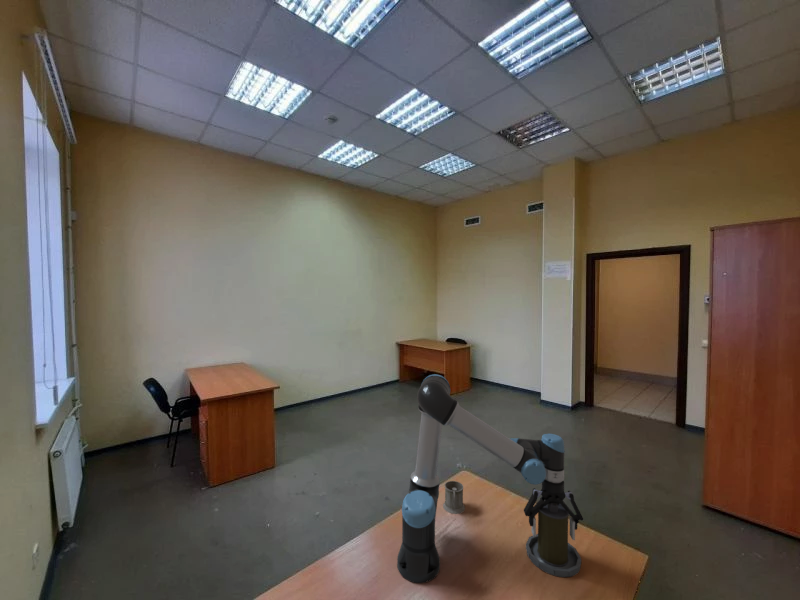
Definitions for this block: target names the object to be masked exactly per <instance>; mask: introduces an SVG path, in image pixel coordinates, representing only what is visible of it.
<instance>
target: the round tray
mask: <svg viewBox="0 0 800 600" xmlns="http://www.w3.org/2000/svg"><path fill="white" fill-rule="evenodd" d="M537 549H538V533H536V537H534V536H533V535H530V536H529V537H528V539H527V541H526V543H525V550H526V554H527V557H528V559H529V560H530V562H531V563H532V564H533V565H534V566H535V567H537V568H538V569H539V570H541V571H542V572H544V573H546V574H548V575H551V576H555V577H559V578H570V577H574V576H576V575H578V573H580V571H581V565H582V557H581V556H580V553H579V551H578V549H576V548H575V546H573V545H572V544H571V543H569V542H568V560H569V561H568V563H567V565H565V566H563V567H555V566H552V565H549V564H547V563H546V562H544V561H543V560H542V559H541V558H540V557H539V555H538V552H537Z"/></svg>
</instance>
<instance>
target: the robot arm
mask: <svg viewBox="0 0 800 600" xmlns="http://www.w3.org/2000/svg"><path fill="white" fill-rule="evenodd" d="M450 394H451V386H450V383H449V381H448V379H446V377H444V376H443V375H440V374H435V373H434V374H429V375H428V376H426V377H425V378H424V379H423V380H422V382H421V385H420V387H419V389H418V391H417V394H416V397H417V403H418V408H417V409H418V411H419V412H420V413H421V414H420V415H421V416H420V424H419V431H418V432H419V433H418V441H417V449H416V450H417V452H416V461H415V469H414V471H412V473H411V474H410V478H409V479H410V481H409V488H408V493H407V494H406V495H405V497H404V498H403V501H402V506H401V515H402V516H401V517H402V523H401V524H402V525H401V526H402V528H401V529H402V532H401V533H402V534H401V535H402V536H401V538H402V539H401V540H402V541H401V545H400V549H399V551H398V554H397V558H396V560H397V563H396V565H397V571H398V573H399V574H400V575H401V576H402V578H404V579H405V580H407V581H408V582H409V581H410V582H412V583H416V584H423V583H428V582H430V581H432V580H434V579H435V578H436V577H437V576H438V574H439V573H440V568H441V567H440V566H441V561H440V560H441V558H440V556H439V553H438V549H437V547H436V518H437V517H436V516H437V508H438V501H439V500H438V499H439V496H440V482H441V481H440V477H439V475H438V465H439V458H440V457H439V455H440V447H441V438H442V429H443V426H444V427H446V426H450V428H453V429H454V430H456V431H457V432H458V433H460V434H461V435H462V436H465V437H466V438H468V439H469V440H470V441H472V442H473V443H475V444H477V445H478V446H479V447H482V449H484V450H486V451H488V452H489V453H490V454H491V455H493V456H495V457H496V458H498V460H501V461H502V462H503V463H506V464H507V465H509V466H510V467H511V468H513V469H514V470H516V471H518V472H519V473H520V474H521V475H522V476H521V477H522V478H523V479H524V480H525V481H526V482H527V483H529V484H531V485H540V484H541V490H538V489H536V488H535V487H534V488H532V493H531V495H530V497H529V499H528V501H527V503H526V505H525V507H524V508H523V513H524V515H525V517H528V523H529V526H530V527H531V534H532V536H534V537H536V534H537V533H536V531H537V527H536V526H537V525H536V523H537V521H536V519H537V518H536V516H537V515H538V512H539V509H542V508H543V507H544V506H546V505H547V504H549V503H557V504H558V505H559V504H561V505H562V506H563V507H564V509H565V510H566V511H568V512H569V515H568V516H570V517H569V536H570V538H571V540H572V541H575V540H576V536H575V535H576V533H575V532H576V530H578V523H579V521H583V520H584V517H583V516H582V512H581V511H580V509H579V508H578V504H576V501H575V497H574V494H573V492H572V491H571V490H567V492H565V481H564V480H565V452H566V451H565V441H564V439H563V438H562V437H561V436H560V435H558V434H554V433H543V434H542V436H541V439H528V438H520V437H517V438H514V437H513V438H512V437H511V438H510V437H508V436H506V435H505V434H504V433H502V432H501V431H499V430H497V429H496V428H494V427H492V426H491V425H490V424H488V423H487V422H485V421H484V420H482V419H481V418H478V417H477V416H476V415H474V414H473V413H471V412H470V411H468V410H466V409H465V408H463V407H462V406H460V404H459V401H458V400H457V399H455V398H454V397H452V396H451V395H450ZM540 496H541V497H540ZM539 497H540V498H539ZM538 498H539V500H538ZM565 498H566V499H568V500H569V502H570V503H571V506H572V508H573V510H574V512H575V513H574V512H573V511H572V510H571V509H570V507H569V506H568V505H567V504H566V502H565V501H564V500H565ZM537 500H538V501H537ZM544 500H545V501H544Z"/></svg>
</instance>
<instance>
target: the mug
mask: <svg viewBox="0 0 800 600" xmlns="http://www.w3.org/2000/svg"><path fill="white" fill-rule="evenodd" d="M444 488H445V489H444V491H445V492H444V502H443V505H442V507H443V509H444V511H445V512H447V513H449V514H452V515H453V514H454V515H459V514H460V515H461V514H463V513H464V511H465V510H466V507H465V504H464V484H463V483H461V482H459V481H455V480H449V481H446V482H445V483H444Z"/></svg>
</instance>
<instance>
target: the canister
mask: <svg viewBox="0 0 800 600" xmlns="http://www.w3.org/2000/svg"><path fill="white" fill-rule="evenodd" d="M544 501H545V500H544ZM537 515H538V518H537V534H538V549H537V552H538V555H539V557H540V558H541V559H542V560H543V561H544V562H546V563H547V564H549V565H552V566H555V567H563V566H565V565H567V563H568V561H569V560H568V543H569V539H568V538H569V516H570V515H569V512H568V511H566V510H565V509H564V507H563V506H562V505H561V504H559V505H558V504H557V503H549V504H547V505H546V506H544V507H543V508H542V509H539V512H538V513H537Z"/></svg>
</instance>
